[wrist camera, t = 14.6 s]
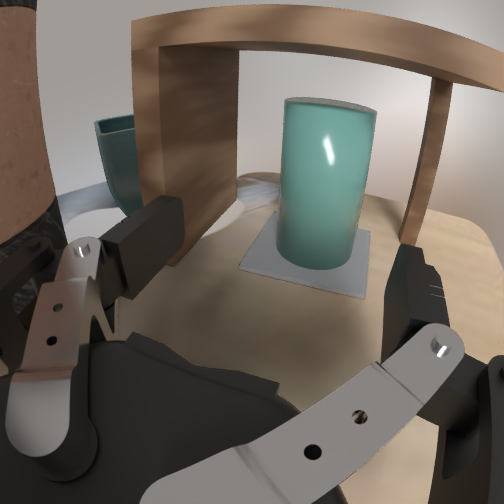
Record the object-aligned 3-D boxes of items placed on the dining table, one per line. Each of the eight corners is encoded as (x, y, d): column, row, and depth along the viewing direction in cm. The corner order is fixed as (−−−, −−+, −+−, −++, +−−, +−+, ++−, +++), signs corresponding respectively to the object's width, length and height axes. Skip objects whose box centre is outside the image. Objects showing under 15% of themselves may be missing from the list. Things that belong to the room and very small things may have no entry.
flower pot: (177, 181, 36) (173, 107, 31) (204, 212, 30) (201, 118, 24) (104, 198, 32) (93, 120, 27) (113, 234, 26) (96, 135, 21)
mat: (239, 269, 23) (239, 264, 22) (274, 214, 30) (275, 210, 29) (364, 299, 20) (365, 295, 20) (369, 234, 27) (370, 231, 27)
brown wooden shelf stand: (152, 259, 23) (131, 20, 13) (218, 196, 32) (219, 30, 23) (425, 328, 18) (509, 55, 8) (413, 237, 27) (450, 60, 18)
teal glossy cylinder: (265, 258, 23) (272, 104, 17) (287, 220, 28) (296, 95, 21) (346, 277, 21) (377, 119, 15) (354, 235, 26) (376, 107, 20)
